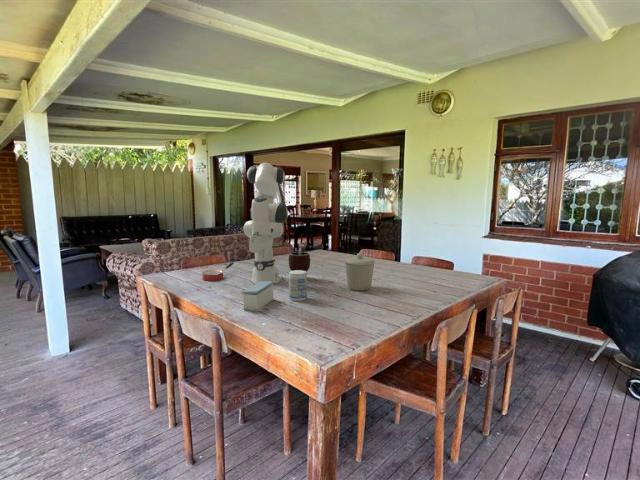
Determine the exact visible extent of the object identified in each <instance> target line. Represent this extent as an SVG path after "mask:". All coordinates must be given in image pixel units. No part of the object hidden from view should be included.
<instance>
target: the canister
mask: <svg viewBox="0 0 640 480" xmlns="http://www.w3.org/2000/svg"><path fill="white" fill-rule="evenodd" d="M343 262H344V264H345V273H346V284H347V287H348V289H350V290H353V291H359V292H360V291H366V290H367V291H368V290H369V289H371V286H372V282H373V274H374V268H375V263H376V260H374V259H373V258H371V257H367V256H364V255H363V253H359V252H358V253H357V254H356V256H351V257H347V258H346V259H345V260H344V261H343Z"/></svg>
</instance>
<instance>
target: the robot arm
mask: <svg viewBox="0 0 640 480" xmlns="http://www.w3.org/2000/svg"><path fill="white" fill-rule="evenodd" d="M246 177H247V180H248V182H249V183H250V184H254V186H255V188H256V194H255V198H253V199H252V201H251V208H250V210H249V212H250V213H249V214H250V220H248V221H245V223H244V225H243V228H242V229H243V233H244V235H245V236H246V237H248V238H249V243H248V244H249V246H248V249H249V250H248V251H249V253H254V266H253V268H252V276H251V277H252V278H251V279H250V282H252V284H256V283H258V282H263V281H274V283H273V284H279V283H280V281H281V280H282V279H283V276H282V275H279V268H277V266H276V265H275V263H276V259H275V258H274V254H273V253H274V250H273V244H274V239H277V238H280V237H281V236H282V235H283V233H284V225H283V223H284V222H286V221H287V220H288V217H289V212H288V207H287V205H286V201H285V197H284V193H283V189H282V188H283V187H282V186H281V185H282V184H284V181H285V171H284V169H283V168H282V167H278V166H277V167H275V166H273V165H272V164H271V163H270V162H262V163H260V164H259V165H251V166H250V167H249V168H248V169H247V172H246ZM275 199H276V203H274V202H275Z"/></svg>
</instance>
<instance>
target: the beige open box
mask: <svg viewBox="0 0 640 480" xmlns="http://www.w3.org/2000/svg"><path fill="white" fill-rule="evenodd" d="M242 299H243V311H249V312H259V310H261V309H262V308H264V307H265V306H266V305H268V304H269V303H271V302H272V301H273V300H274V284H272V285H270V286H269V287H267V288H265V289H264V290H262V291H261V292H259V293H258V294H243V293H242Z"/></svg>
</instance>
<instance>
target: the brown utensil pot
mask: <svg viewBox="0 0 640 480" xmlns="http://www.w3.org/2000/svg"><path fill="white" fill-rule="evenodd" d="M288 266H289V270H290V271H294V270H302V271H306V272H308V271H309V269H310V267H311V256H310V252H307V251H302V246H300V247H299V249H298V251H294V252H289V254H288ZM309 280H310V277H308V276H307V282H308V281H309Z"/></svg>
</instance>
